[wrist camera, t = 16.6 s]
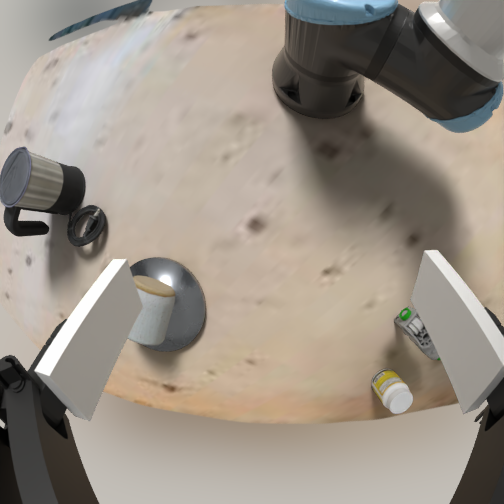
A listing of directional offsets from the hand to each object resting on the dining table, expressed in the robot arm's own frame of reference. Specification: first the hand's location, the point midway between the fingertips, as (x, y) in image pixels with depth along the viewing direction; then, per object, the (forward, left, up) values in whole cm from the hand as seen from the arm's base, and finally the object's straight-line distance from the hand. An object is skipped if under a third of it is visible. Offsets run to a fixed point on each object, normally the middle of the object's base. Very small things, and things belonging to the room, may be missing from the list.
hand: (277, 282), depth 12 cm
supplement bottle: (+21, +20, -30) cm, 41 cm away
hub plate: (+8, -17, -29) cm, 35 cm away
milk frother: (-8, -34, -30) cm, 46 cm away
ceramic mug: (+8, -19, -28) cm, 35 cm away
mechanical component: (+10, +21, -30) cm, 37 cm away
